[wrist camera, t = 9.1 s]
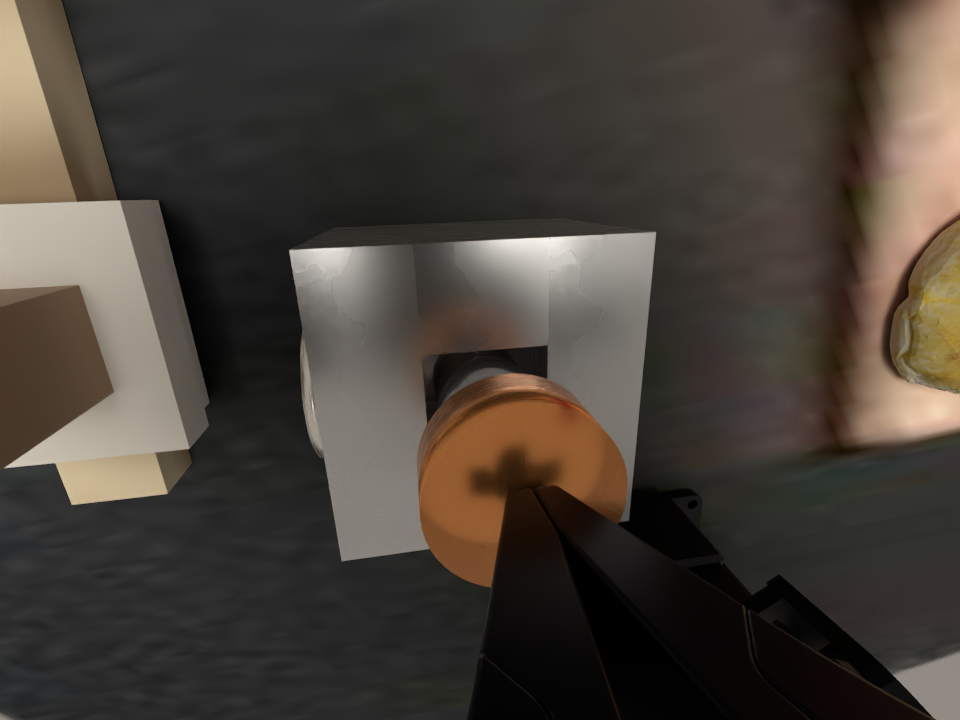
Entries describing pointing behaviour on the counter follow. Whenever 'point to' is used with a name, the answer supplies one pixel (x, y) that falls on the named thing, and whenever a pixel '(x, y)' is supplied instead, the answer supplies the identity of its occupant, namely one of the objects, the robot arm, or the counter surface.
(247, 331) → the counter surface
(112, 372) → the carriage
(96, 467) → the rail
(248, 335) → the counter surface
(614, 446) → the plunger
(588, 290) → the cabinet
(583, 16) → the counter surface
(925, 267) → the bread roll
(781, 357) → the counter surface
